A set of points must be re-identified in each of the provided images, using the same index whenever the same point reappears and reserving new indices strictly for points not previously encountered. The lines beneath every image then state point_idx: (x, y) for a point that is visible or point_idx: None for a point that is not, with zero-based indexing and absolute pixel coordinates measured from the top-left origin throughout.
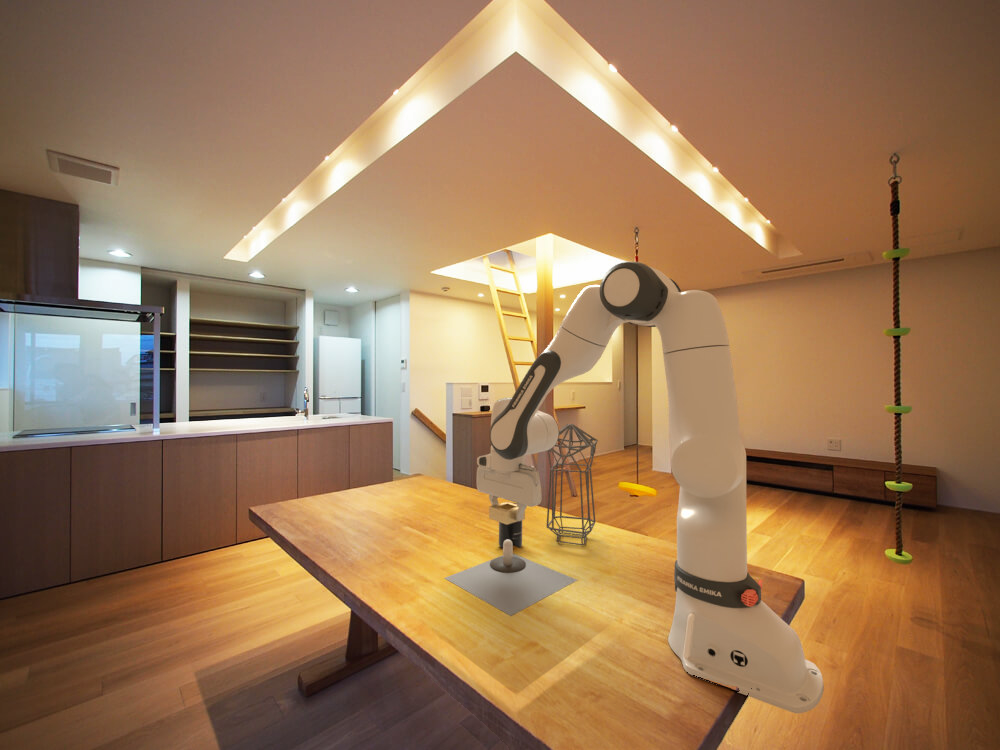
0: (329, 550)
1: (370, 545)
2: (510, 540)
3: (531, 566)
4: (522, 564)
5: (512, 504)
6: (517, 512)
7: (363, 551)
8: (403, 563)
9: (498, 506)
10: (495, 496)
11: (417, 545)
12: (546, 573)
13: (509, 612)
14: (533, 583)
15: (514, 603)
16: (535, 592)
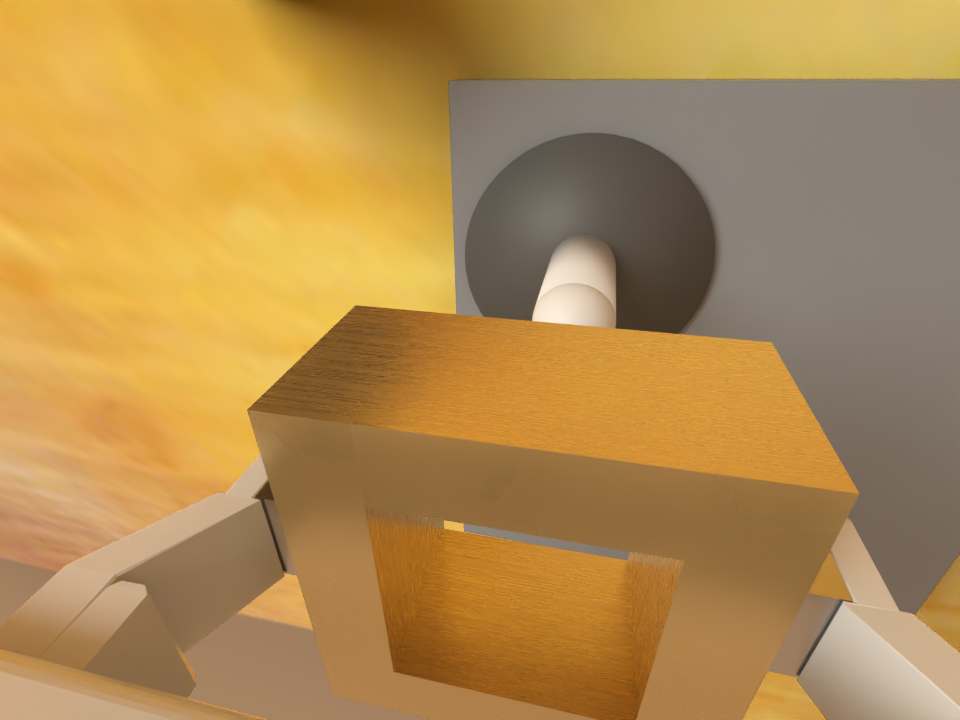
0: (32, 529)
1: (16, 445)
2: (590, 324)
3: (745, 168)
4: (678, 210)
5: (472, 492)
6: (843, 716)
7: (67, 485)
8: (222, 476)
9: (391, 639)
10: (148, 686)
11: (60, 338)
12: (924, 185)
13: (896, 601)
14: (889, 361)
15: (882, 550)
16: (950, 433)
